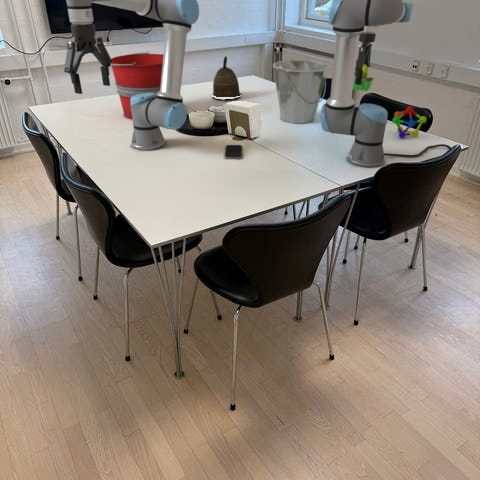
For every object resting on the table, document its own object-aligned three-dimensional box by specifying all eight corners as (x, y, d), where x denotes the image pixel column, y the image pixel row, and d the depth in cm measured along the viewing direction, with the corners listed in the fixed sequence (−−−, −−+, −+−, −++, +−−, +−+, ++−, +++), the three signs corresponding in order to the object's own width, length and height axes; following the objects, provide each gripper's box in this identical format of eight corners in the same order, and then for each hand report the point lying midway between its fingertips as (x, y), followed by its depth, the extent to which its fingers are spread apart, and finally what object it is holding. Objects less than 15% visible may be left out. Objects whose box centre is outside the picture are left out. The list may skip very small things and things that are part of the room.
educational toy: (387, 140, 216) (390, 109, 209) (393, 133, 226) (396, 103, 219) (421, 142, 209) (425, 110, 202) (425, 135, 219) (429, 104, 212)
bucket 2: (298, 130, 226) (303, 73, 211) (259, 117, 244) (260, 64, 230) (335, 119, 242) (342, 65, 228) (296, 107, 261) (299, 57, 246)
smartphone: (224, 157, 192) (226, 144, 205) (224, 158, 193) (226, 146, 205) (241, 157, 192) (242, 145, 205) (241, 158, 193) (242, 146, 205)
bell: (227, 105, 294) (202, 96, 282) (238, 66, 289) (213, 55, 277) (243, 108, 280) (217, 98, 268) (255, 66, 275) (229, 55, 263)
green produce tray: (345, 89, 220) (348, 65, 214) (351, 85, 227) (354, 62, 221) (368, 92, 216) (372, 68, 210) (373, 87, 222) (376, 64, 216)
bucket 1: (123, 104, 265) (116, 50, 249) (181, 105, 264) (178, 51, 248) (106, 122, 236) (97, 62, 220) (172, 123, 235) (167, 63, 219)
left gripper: (60, 27, 135) (74, 98, 146) (116, 20, 154) (125, 83, 165) (43, 26, 138) (58, 95, 149) (100, 19, 157) (109, 81, 168)
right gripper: (369, 35, 198) (362, 87, 210) (381, 30, 214) (373, 79, 226) (353, 34, 201) (346, 85, 213) (366, 29, 217) (359, 77, 229)
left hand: (93, 89), depth 157 cm, fingers open, 13 cm apart
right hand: (360, 82), depth 220 cm, fingers closed on green produce tray, 9 cm apart
